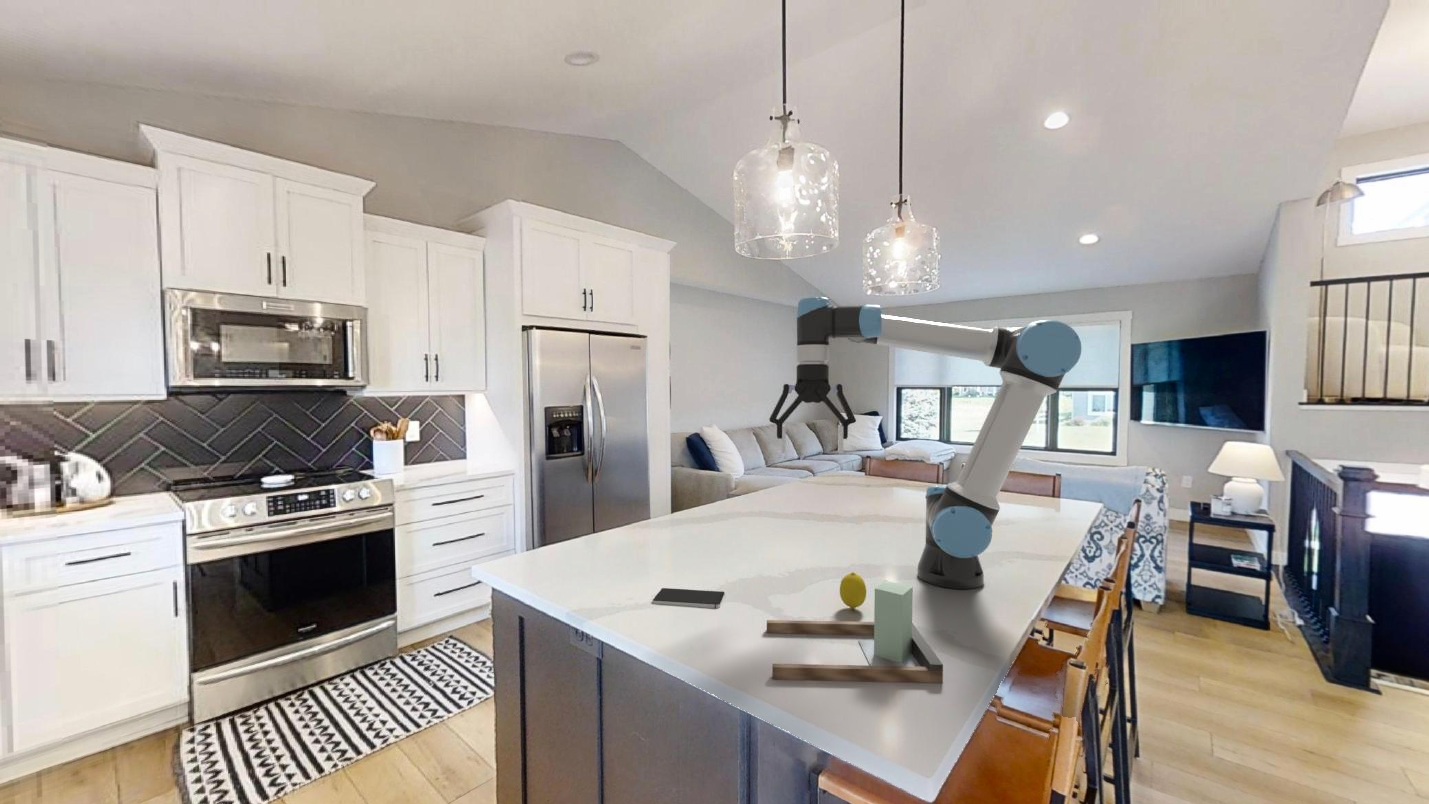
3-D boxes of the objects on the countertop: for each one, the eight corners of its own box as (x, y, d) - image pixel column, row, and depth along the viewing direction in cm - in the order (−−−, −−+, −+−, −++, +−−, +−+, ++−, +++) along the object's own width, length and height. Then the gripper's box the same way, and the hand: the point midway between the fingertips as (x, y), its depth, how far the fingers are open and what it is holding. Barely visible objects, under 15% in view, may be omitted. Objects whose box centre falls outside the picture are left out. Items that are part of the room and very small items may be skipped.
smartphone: (661, 587, 132) (725, 591, 129) (661, 592, 132) (725, 596, 129) (652, 600, 124) (719, 604, 121) (652, 606, 124) (719, 610, 121)
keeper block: (884, 644, 105) (885, 580, 104) (911, 652, 101) (912, 586, 101) (873, 654, 101) (874, 588, 100) (901, 663, 98) (902, 595, 97)
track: (908, 632, 110) (908, 617, 110) (942, 682, 92) (943, 664, 92) (766, 630, 111) (766, 615, 111) (772, 679, 93) (772, 661, 93)
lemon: (851, 616, 117) (851, 578, 117) (834, 607, 122) (834, 570, 122) (871, 611, 120) (872, 574, 120) (853, 602, 125) (854, 566, 125)
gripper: (862, 364, 138) (860, 450, 138) (759, 364, 138) (758, 450, 139) (869, 363, 130) (868, 455, 131) (760, 363, 131) (760, 454, 132)
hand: (811, 452), depth 135 cm, fingers open, 13 cm apart
